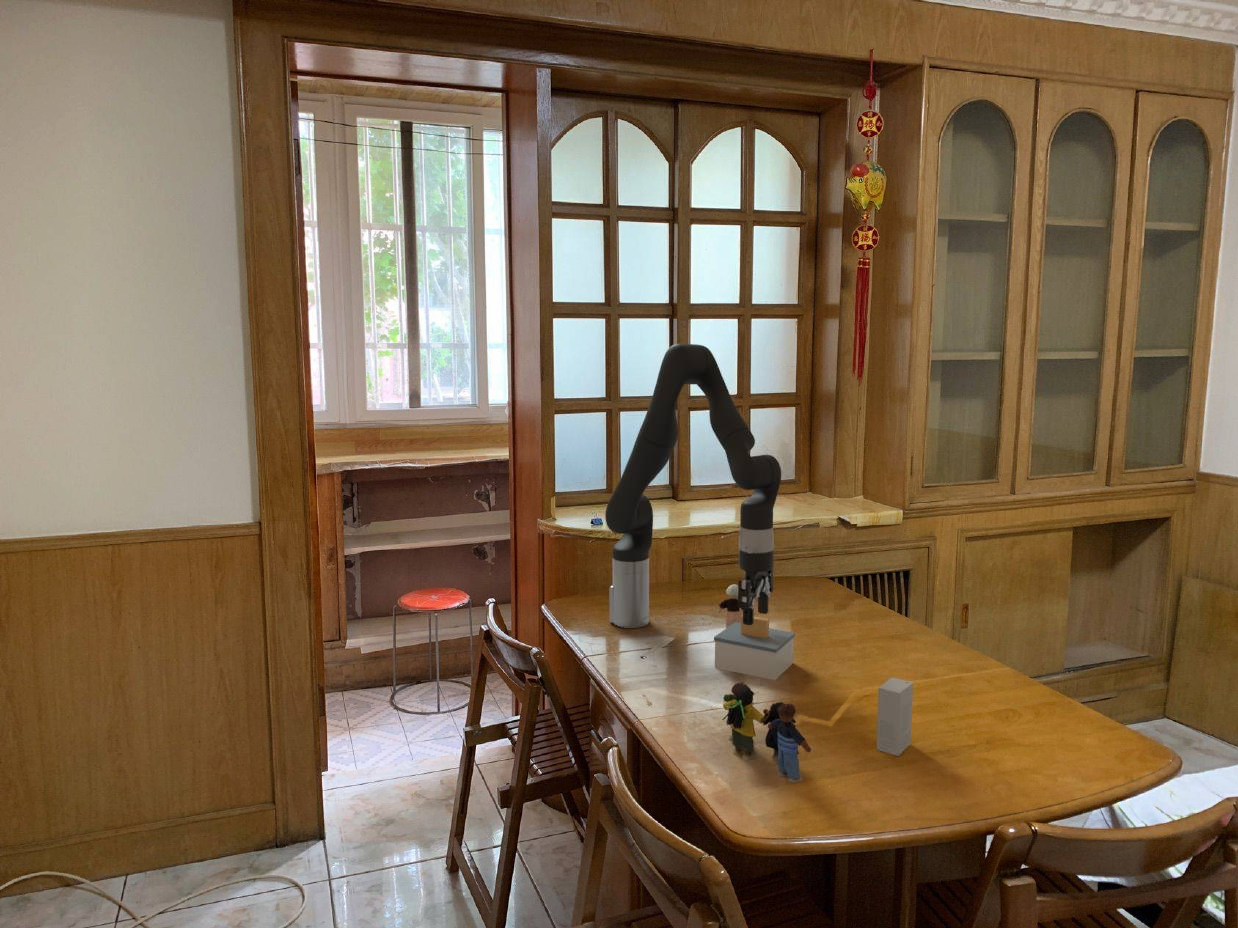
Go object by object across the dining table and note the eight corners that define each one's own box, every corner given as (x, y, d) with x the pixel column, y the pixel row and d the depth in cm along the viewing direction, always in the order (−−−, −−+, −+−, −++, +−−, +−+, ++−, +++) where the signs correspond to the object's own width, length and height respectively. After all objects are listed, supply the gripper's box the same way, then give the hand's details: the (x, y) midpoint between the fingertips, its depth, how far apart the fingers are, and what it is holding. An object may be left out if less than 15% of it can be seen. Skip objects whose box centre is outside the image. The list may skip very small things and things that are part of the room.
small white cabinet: (714, 670, 198) (715, 640, 196) (735, 654, 207) (735, 625, 206) (774, 683, 190) (775, 652, 189) (793, 666, 200) (793, 636, 199)
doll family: (834, 774, 153) (837, 700, 151) (804, 794, 147) (806, 717, 144) (728, 730, 169) (729, 663, 167) (697, 747, 163) (697, 677, 161)
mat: (640, 657, 205) (640, 655, 205) (669, 638, 217) (669, 636, 217) (703, 671, 197) (703, 669, 197) (729, 650, 209) (729, 648, 209)
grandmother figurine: (747, 632, 222) (748, 582, 219) (748, 637, 218) (749, 587, 216) (716, 631, 222) (717, 582, 220) (716, 636, 219) (717, 586, 216)
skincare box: (888, 737, 166) (891, 676, 164) (911, 744, 163) (914, 682, 161) (875, 749, 161) (877, 686, 159) (898, 757, 158) (901, 693, 156)
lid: (713, 644, 196) (714, 619, 196) (735, 629, 206) (735, 605, 205) (775, 657, 189) (776, 631, 188) (794, 640, 199) (795, 615, 198)
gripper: (753, 538, 202) (752, 607, 205) (727, 552, 190) (726, 625, 193) (784, 541, 198) (783, 612, 201) (760, 556, 186) (759, 631, 189)
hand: (755, 618), depth 197 cm, fingers open, 8 cm apart
